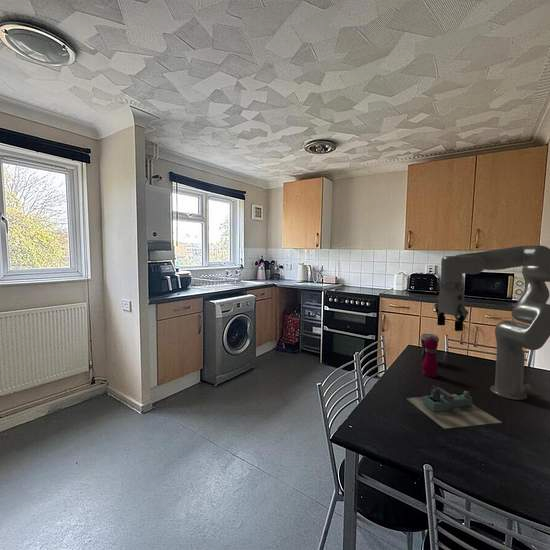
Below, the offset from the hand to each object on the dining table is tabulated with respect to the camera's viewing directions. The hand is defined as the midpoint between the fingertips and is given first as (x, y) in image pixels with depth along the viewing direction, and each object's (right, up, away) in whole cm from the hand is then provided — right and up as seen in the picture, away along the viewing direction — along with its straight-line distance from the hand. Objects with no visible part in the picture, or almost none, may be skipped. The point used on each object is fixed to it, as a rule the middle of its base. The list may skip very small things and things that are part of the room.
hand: (449, 327), depth 125 cm
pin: (-10, -29, -7) cm, 32 cm away
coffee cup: (+15, -27, +46) cm, 56 cm away
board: (-5, -31, -9) cm, 32 cm away
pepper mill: (+6, -29, +27) cm, 40 cm away
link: (-4, -29, -6) cm, 30 cm away
